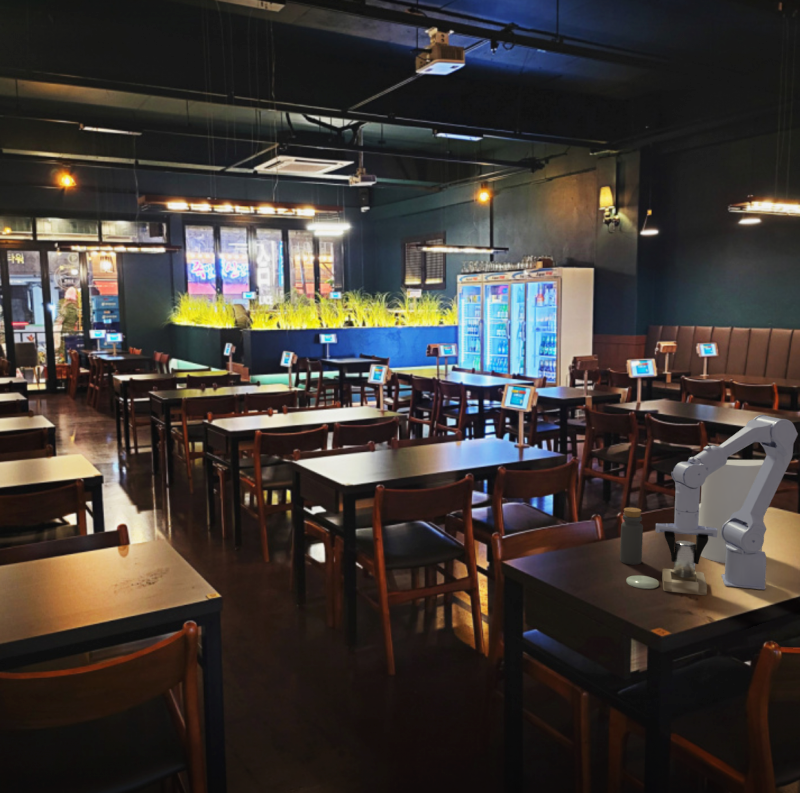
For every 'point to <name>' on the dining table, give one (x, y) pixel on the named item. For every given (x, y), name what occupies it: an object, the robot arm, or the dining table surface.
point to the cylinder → (725, 500)
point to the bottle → (631, 537)
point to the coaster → (642, 582)
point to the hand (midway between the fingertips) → (684, 561)
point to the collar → (684, 583)
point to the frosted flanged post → (685, 559)
